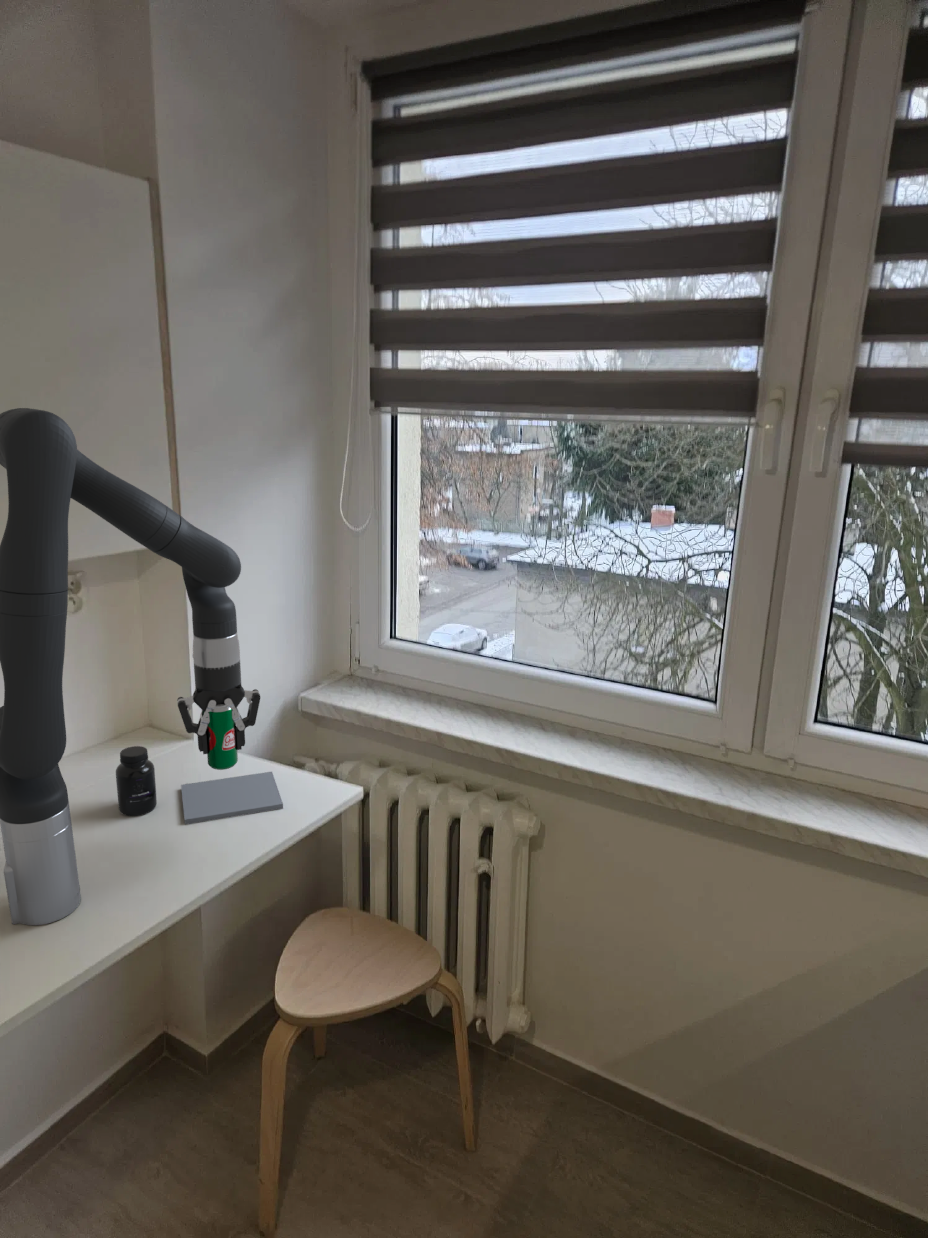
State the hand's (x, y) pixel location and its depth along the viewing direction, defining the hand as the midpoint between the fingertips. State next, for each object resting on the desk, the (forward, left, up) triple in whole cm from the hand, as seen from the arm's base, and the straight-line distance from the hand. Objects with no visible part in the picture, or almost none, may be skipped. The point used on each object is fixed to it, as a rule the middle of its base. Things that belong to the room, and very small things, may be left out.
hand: (222, 749), depth 137 cm
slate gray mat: (+2, +14, -17) cm, 22 cm away
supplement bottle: (-15, +16, -18) cm, 28 cm away
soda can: (0, 0, -3) cm, 3 cm away
